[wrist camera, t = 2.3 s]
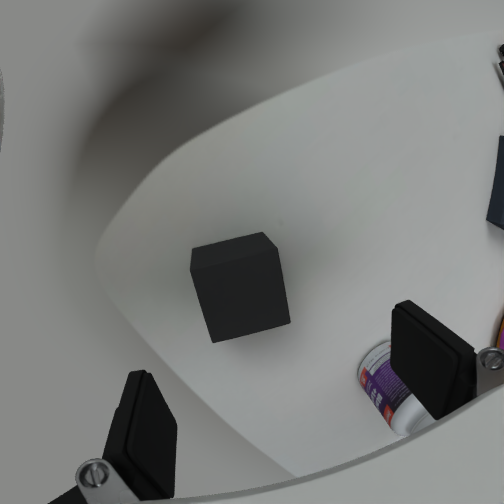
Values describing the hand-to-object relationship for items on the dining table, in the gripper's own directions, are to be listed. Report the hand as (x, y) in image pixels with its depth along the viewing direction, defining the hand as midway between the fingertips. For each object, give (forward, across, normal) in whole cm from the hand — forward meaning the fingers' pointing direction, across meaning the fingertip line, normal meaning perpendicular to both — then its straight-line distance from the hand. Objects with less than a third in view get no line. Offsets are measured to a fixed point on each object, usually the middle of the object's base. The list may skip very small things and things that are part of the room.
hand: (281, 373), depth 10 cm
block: (+10, +1, 0) cm, 10 cm away
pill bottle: (+11, -10, +12) cm, 19 cm away
